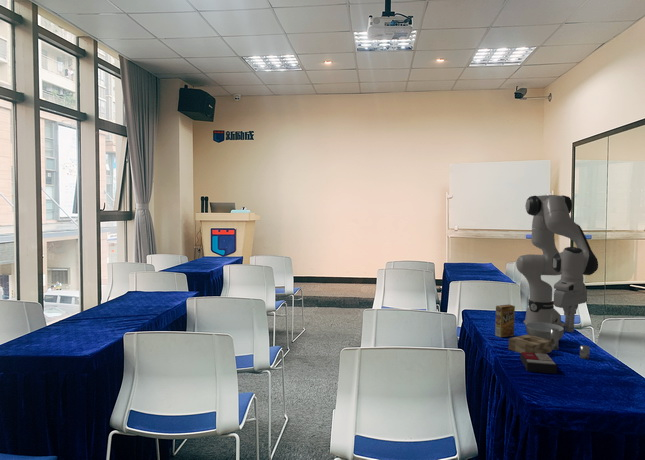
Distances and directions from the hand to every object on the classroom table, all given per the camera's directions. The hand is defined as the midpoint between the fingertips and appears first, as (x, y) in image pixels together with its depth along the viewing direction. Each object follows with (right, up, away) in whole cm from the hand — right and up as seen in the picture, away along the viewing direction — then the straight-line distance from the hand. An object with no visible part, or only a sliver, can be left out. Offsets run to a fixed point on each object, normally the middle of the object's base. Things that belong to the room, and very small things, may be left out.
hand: (570, 314), depth 206 cm
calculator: (-22, -19, -16) cm, 33 cm away
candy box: (-19, -16, +27) cm, 36 cm away
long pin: (0, -7, +1) cm, 7 cm away
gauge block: (-16, -17, +4) cm, 24 cm away
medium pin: (-4, -17, +7) cm, 19 cm away
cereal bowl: (-2, -16, +19) cm, 25 cm away
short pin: (+3, -18, -5) cm, 19 cm away
